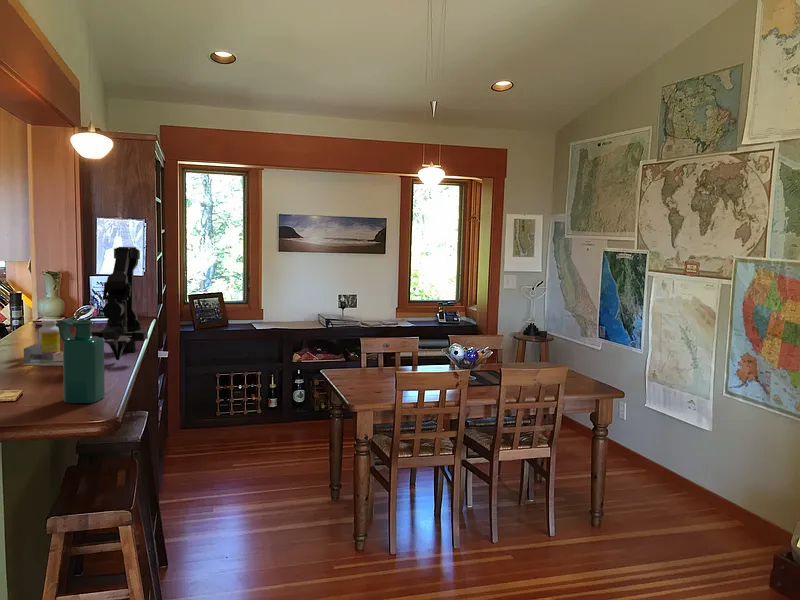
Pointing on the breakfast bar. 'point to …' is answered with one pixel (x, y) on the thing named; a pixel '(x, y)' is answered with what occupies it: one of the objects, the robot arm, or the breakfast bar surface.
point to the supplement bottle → (49, 337)
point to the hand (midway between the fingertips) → (117, 360)
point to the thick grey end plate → (58, 356)
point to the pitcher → (82, 362)
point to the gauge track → (39, 357)
